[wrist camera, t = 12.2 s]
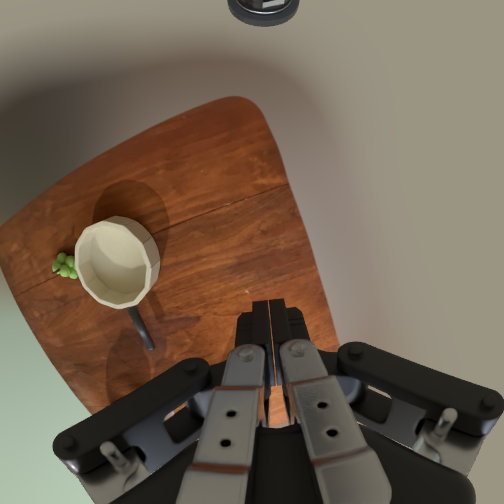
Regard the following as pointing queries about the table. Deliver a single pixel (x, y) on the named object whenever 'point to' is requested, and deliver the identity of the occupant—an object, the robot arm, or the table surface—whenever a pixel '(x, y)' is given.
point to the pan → (118, 266)
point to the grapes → (65, 266)
